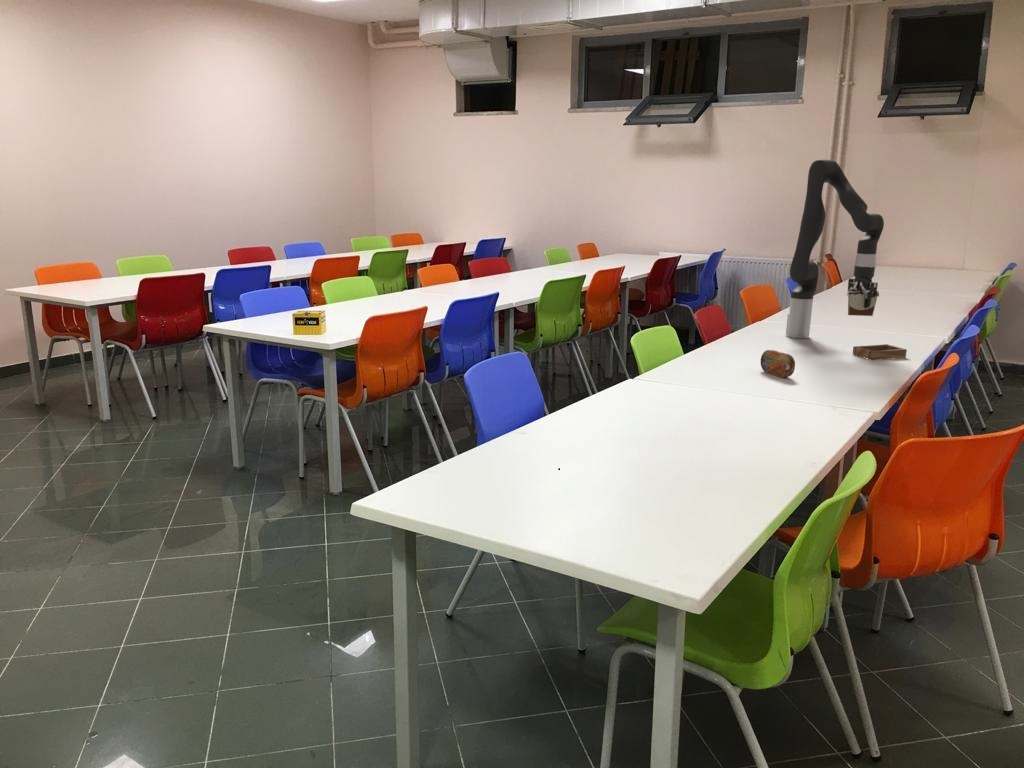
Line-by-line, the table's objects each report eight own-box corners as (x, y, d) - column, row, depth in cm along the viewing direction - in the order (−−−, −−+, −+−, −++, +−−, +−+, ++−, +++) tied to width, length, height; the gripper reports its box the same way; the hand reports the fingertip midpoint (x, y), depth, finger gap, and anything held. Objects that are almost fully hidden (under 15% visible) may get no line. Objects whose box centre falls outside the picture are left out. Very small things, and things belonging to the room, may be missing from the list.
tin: (758, 370, 287) (761, 347, 285) (765, 369, 288) (767, 347, 286) (788, 380, 274) (790, 356, 272) (795, 379, 275) (797, 355, 273)
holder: (852, 354, 315) (853, 346, 314) (885, 352, 320) (886, 344, 319) (871, 360, 305) (872, 351, 304) (905, 357, 310) (906, 349, 309)
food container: (871, 313, 324) (874, 289, 321) (876, 316, 318) (879, 291, 315) (840, 312, 325) (843, 288, 322) (844, 315, 319) (847, 290, 316)
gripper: (844, 263, 322) (840, 303, 326) (870, 267, 308) (865, 309, 313) (859, 262, 324) (855, 303, 328) (885, 266, 311) (880, 308, 315)
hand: (859, 306), depth 320 cm, fingers closed on food container, 7 cm apart
